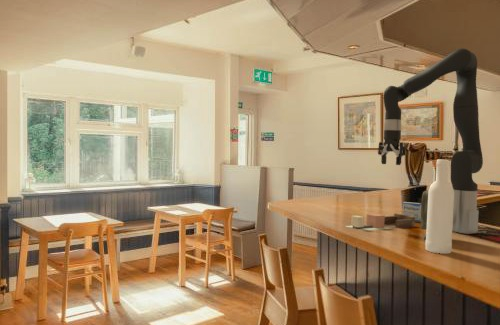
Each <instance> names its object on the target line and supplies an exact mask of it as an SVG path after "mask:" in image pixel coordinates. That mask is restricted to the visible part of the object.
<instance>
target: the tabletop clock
mask: <svg viewBox="0 0 500 325" xmlns="http://www.w3.org/2000/svg"><path fill="white" fill-rule="evenodd" d="M428 191H429V189H427V190H424V191H422V194H421V202H420V203H421V221H420V222H419V223H420V224H419V226H420V229H421V230H425V231H426V229H427V209H428ZM453 212H454V208H453ZM423 240H424V241H426V235H424V236H423Z"/></svg>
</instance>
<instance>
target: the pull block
mask: <svg viewBox="0 0 500 325" xmlns="http://www.w3.org/2000/svg"><path fill="white" fill-rule="evenodd" d="M385 216H386V215H383V214H378V213H367V214H366V224H367V225H365V224H364V223H365V217H364V216H360V215H351V216H350V218H351V219H350V220H351V222H350V226H353V228H352V229H354V228H355V229H354V230H357V229H361V228H384V220H385Z"/></svg>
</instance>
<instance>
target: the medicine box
mask: <svg viewBox="0 0 500 325" xmlns="http://www.w3.org/2000/svg"><path fill="white" fill-rule="evenodd" d="M401 210H402V212H401V213H402V215H407V216H412V217H415V223H416V222H418V223H421V202H420V203H419V202H409V201H408V202H407V201H403V202H402V209H401Z"/></svg>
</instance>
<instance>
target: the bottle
mask: <svg viewBox="0 0 500 325" xmlns="http://www.w3.org/2000/svg"><path fill="white" fill-rule="evenodd" d="M435 165H436V169H435V170H436V171H435V180H434V181H433V182H432V183H431V184H430V186H429V188H428V209H427V229H426V230H425V231H426V232H425V236H426V240H425V242H424V243H425V250H426V251H427V252H430V253H433V254H439V253H440V255H447V254H448V255H449V254H451V253H452V247H453V231H452V227H453V208H454V190H453V187H452V183H450V182H449V166H450V162H449V159H443V158H442V159H440V158H439V159H436V163H435Z"/></svg>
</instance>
